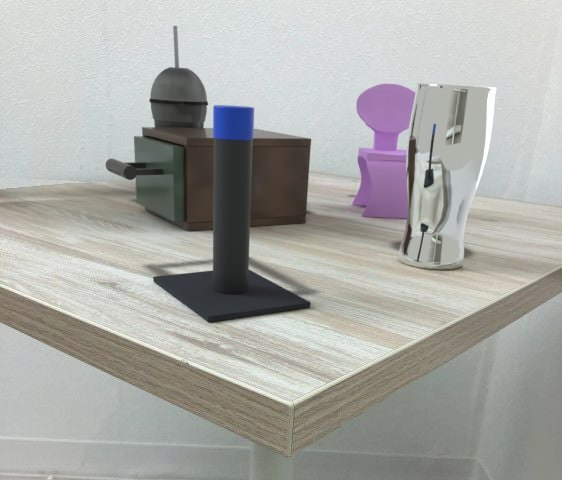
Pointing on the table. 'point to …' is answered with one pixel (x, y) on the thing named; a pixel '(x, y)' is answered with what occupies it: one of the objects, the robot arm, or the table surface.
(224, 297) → the mat
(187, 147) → the cabinet
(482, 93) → the beer glass
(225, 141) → the marker
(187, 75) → the beverage cup
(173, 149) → the drawer
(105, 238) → the table surface
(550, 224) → the table surface
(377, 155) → the toy chair
